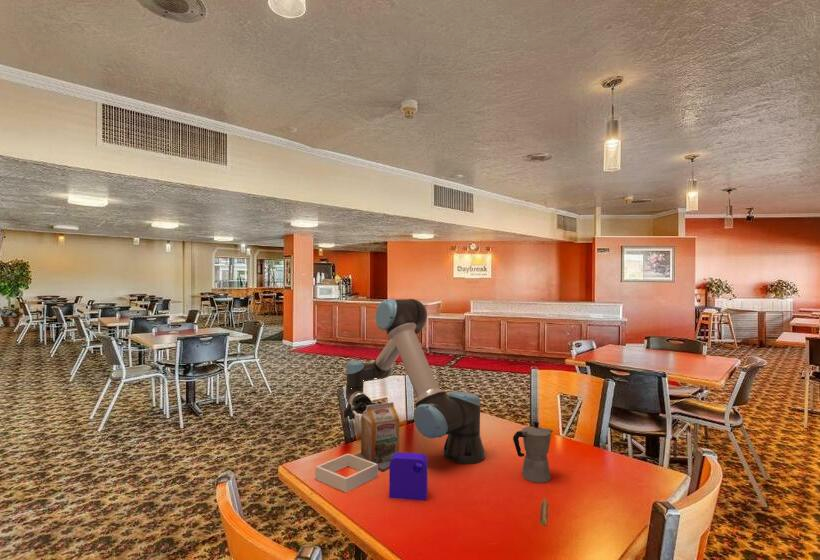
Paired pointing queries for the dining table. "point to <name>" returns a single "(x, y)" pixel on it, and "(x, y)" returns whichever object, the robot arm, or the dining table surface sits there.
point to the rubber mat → (381, 466)
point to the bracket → (408, 476)
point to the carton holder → (346, 484)
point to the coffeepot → (534, 452)
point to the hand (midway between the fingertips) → (375, 417)
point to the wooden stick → (544, 512)
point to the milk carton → (379, 432)
